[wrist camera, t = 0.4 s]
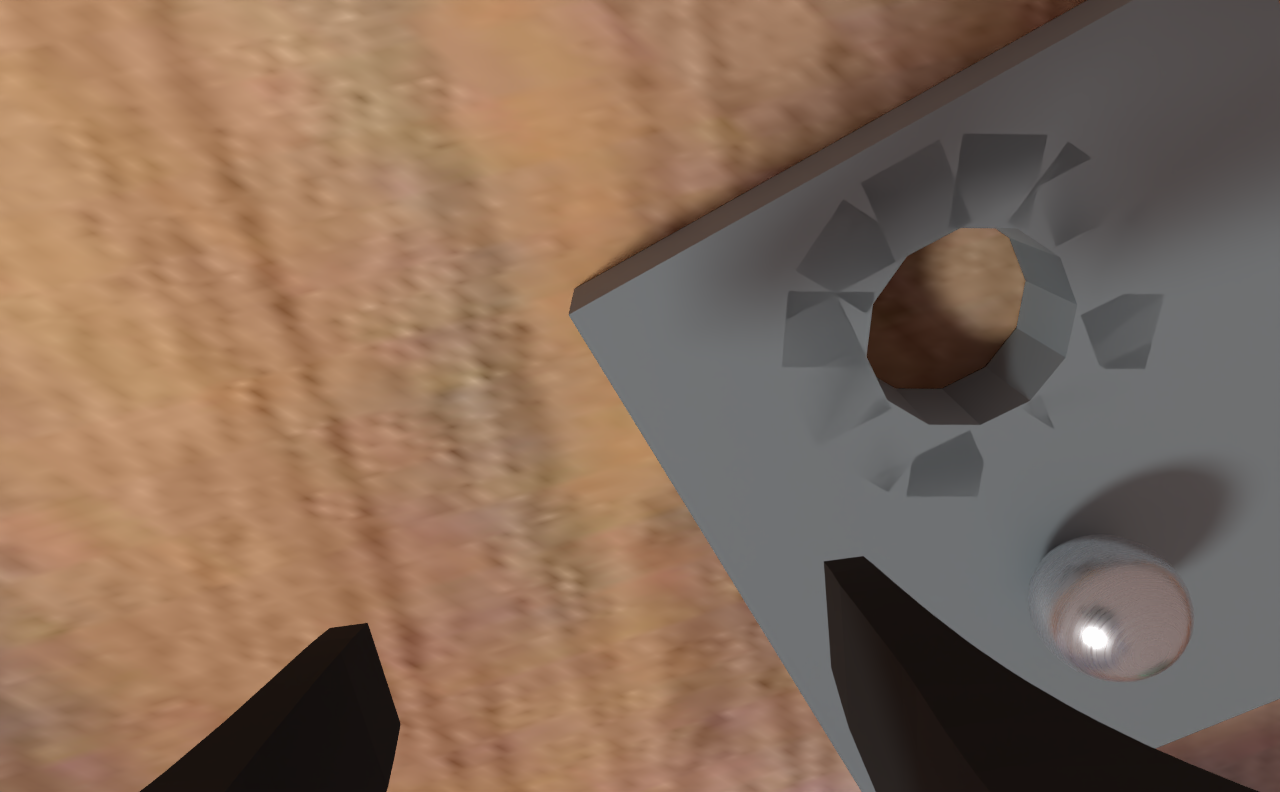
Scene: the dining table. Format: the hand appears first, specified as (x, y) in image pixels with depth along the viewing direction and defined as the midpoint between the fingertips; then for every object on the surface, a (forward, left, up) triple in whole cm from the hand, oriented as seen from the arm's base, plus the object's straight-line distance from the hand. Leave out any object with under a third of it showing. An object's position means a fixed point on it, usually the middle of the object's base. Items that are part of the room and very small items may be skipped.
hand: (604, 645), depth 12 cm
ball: (-9, -9, -6) cm, 14 cm away
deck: (-7, -9, -10) cm, 15 cm away
